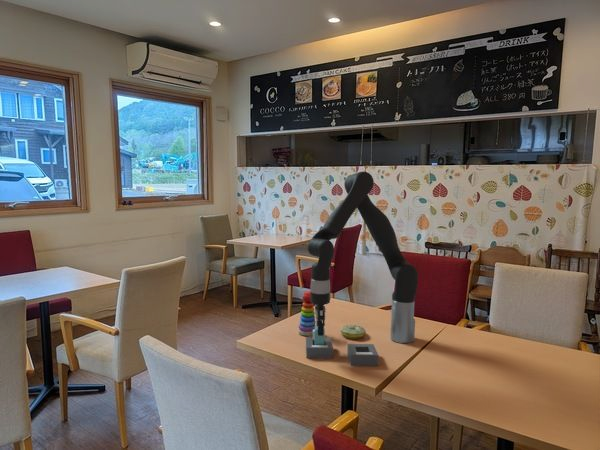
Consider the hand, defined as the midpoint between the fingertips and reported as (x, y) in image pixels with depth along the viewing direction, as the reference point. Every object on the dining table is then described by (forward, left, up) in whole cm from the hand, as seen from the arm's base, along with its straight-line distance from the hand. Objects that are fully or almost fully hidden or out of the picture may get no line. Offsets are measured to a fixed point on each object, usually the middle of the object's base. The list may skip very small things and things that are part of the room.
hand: (319, 331), depth 158 cm
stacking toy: (+4, -20, -9) cm, 23 cm away
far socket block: (0, 0, -9) cm, 9 cm away
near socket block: (-16, +6, -9) cm, 19 cm away
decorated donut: (-16, -18, -9) cm, 26 cm away
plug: (0, 0, -9) cm, 9 cm away
